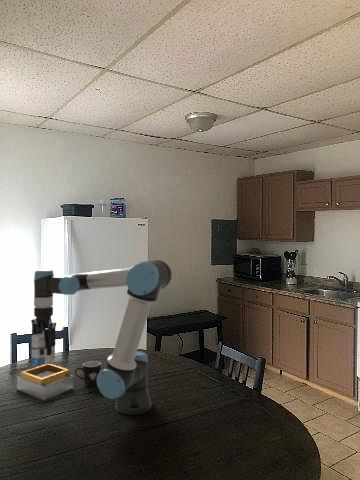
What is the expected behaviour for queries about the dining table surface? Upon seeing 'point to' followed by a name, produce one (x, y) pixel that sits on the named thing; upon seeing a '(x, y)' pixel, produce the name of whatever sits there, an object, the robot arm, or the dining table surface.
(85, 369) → the coffee mug
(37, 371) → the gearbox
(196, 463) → the dining table surface
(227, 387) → the dining table surface
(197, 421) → the dining table surface
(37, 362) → the ink box
